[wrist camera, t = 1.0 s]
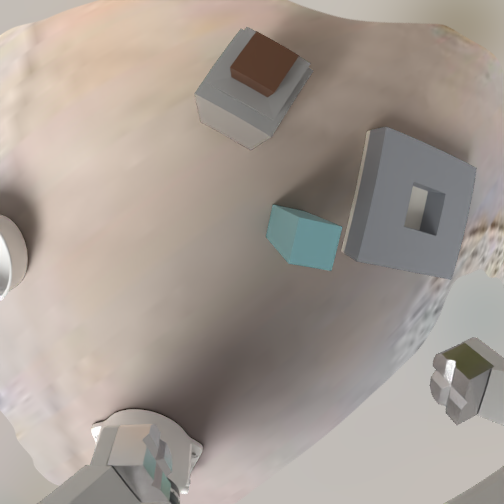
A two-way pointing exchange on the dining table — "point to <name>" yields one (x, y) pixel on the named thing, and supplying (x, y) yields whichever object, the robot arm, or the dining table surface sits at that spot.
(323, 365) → the dining table surface
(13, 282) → the saucepan
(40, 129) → the dining table surface
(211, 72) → the perfume bottle
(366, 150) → the socket block
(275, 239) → the peg
